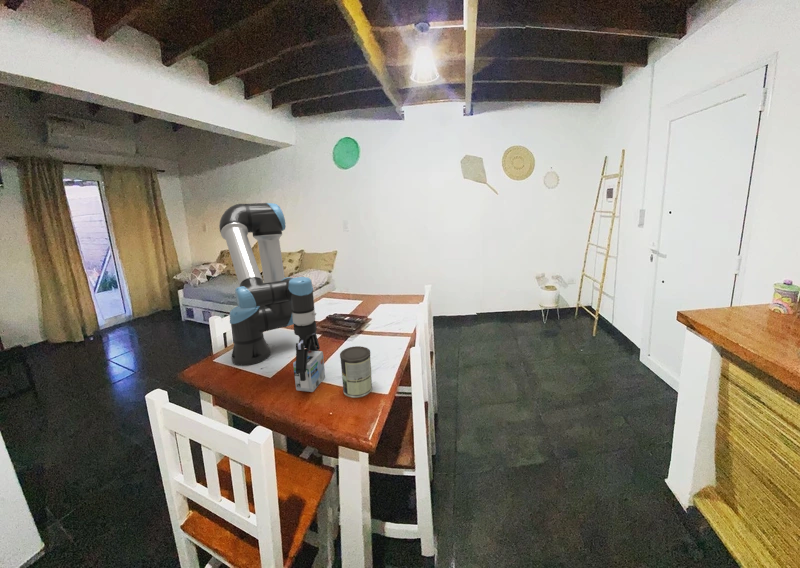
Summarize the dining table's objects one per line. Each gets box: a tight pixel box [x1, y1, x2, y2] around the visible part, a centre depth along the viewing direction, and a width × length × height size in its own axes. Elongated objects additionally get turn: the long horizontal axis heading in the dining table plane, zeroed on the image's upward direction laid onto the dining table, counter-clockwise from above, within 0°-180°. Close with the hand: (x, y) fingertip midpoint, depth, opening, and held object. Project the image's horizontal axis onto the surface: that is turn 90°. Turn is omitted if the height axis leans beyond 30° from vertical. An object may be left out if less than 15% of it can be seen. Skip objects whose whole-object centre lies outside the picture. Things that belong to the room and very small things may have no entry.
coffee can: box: [339, 345, 373, 399], centre depth 108 cm, size 10×10×14 cm
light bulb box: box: [292, 350, 326, 393], centre depth 113 cm, size 11×7×11 cm, turn 168°
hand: (310, 378), depth 114 cm, fingers closed on light bulb box, 11 cm apart
